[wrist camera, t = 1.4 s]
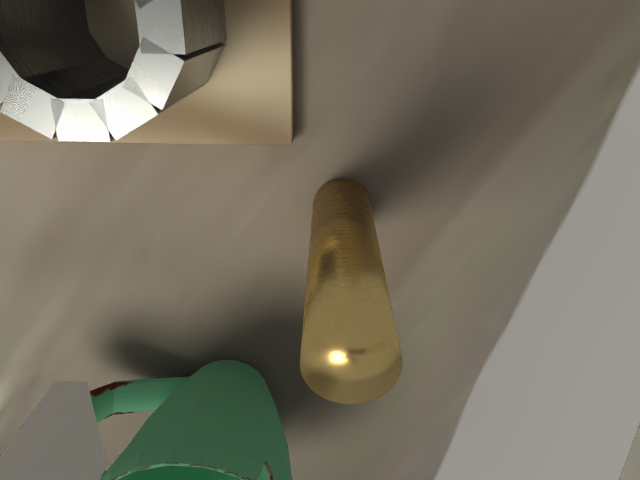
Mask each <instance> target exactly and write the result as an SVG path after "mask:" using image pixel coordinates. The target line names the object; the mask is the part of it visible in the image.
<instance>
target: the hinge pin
mask: <svg viewBox="0 0 640 480" xmlns="http://www.w3.org/2000/svg"><path fill="white" fill-rule="evenodd" d="M401 369H402V356H401V351H400V346H399V341H398V336H397V332H396V327H395V322H394V317H393V312H392V307H391V302H390V297H389V292H388V287H387V283H386V278H385V273H384V268H383V263H382V258H381V253H380V248H379V243H378V238H377V234H376V229H375V224H374V219H373V214H372V209H371V204H370V199H369V196H368V194H367V192H366V191H365V189H364V188H363V187H362V186H361V185H360V184H358V183H357V182H355V181H352V180H349V179H335V180H331V181H329V182H327V183H325V184H324V185H323V186H322V187H321V188H320V189H319V190H318V191H317V193H316V195H315V197H314V201H313V211H312V223H311V235H310V247H309V259H308V271H307V283H306V295H305V307H304V319H303V331H302V343H301V355H300V370H301V374H302V377H303V379H304V381H305V382H306V384H307V385H308V386H309V388H310V389H311V390H312V391H313V392H315V393H316V394H317V395H319V396H321V397H322V398H324V399H327V400H329V401H332V402H335V403H340V404H361V403H365V402H369V401H372V400H375V399H377V398H379V397H380V396H382V395H384V394H385V393H386V392H388V391H389V390H390V389H391V388H392V387H393V386H394V384H395V383H396V382H397V380H398V378H399V376H400V373H401Z"/></svg>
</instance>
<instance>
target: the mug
mask: <svg viewBox="0 0 640 480" xmlns="http://www.w3.org/2000/svg"><path fill="white" fill-rule="evenodd" d="M90 396H91V400H92V404H93V408H94V413H95V417H96V421H97V422H99V421H101V420H103V419H105V418H107V417H109V416H111V415H115V414H124V413H134V412H143V411H152V410H156V411H155V412H154V413H153V414H152V415H151V416H150V417H149V418H148V419H147V420H146V422H145V423H144V425H143V426H142V427H141V429H140V430H139V431H138V433H137V434H136V436H135V437H134V438H133V440H132V441H131V443H130V444H129V445H128V446H127V448H126V449H125V450H124V451H123V452H122V454H121V455H120V456H119V457H118V458H117V460H116V461H115V462H114V463H113V464H112V465H111V467H110V468H109V469H108V470H107V471H104V472H103V474H102V476H101V478H100V480H292V476H291V468H290V460H289V452H288V445H287V442H286V438H285V435H284V431H283V428H282V424H281V421H280V417H279V414H278V411H277V408H276V406H275V403H274V400H273V398H272V396H271V393H270V391H269V388H268V386H267V383H266V381H265V379H264V378H263V377H262V375H261V374H260V373H259V372H258V371H257V370H256V369H255V368H253V367H252V366H250V365H248V364H246V363H243V362H240V361H237V360H225V359H223V360H218V361H213V362H210V363H209V364H207V365H205V366H203V367H201V368H200V369H199V370H198V371H197V372H195V373H194V374H193V375H192V376H181V377H168V378H154V379H141V380H128V381H116V382H113V383H110V384H108V385H105V386H102V387H99V388H97V389H94V390H91V391H90ZM1 455H2V454H1ZM1 455H0V456H1Z"/></svg>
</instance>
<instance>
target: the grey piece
mask: <svg viewBox="0 0 640 480" xmlns="http://www.w3.org/2000/svg"><path fill="white" fill-rule="evenodd" d="M134 2H135V10H136V18H137V26H138V34H139V42H140V46H139V48H138V50H137V53H136V55H135V58H134V60H133V62H132V65H131V67H130V70H128V69H126V68H124V67H122V66H121V65H119V64H117V63H115V62H114V61H112V60H110V59H108V58H107V57H106V55H105V54H104V53H103V51H102V50H101V48H100V47H99V45H98V44H97V42H96V41H95V40H94V38H93V37H92V35H91V34H90V32H89V28H88V22H87V16H86V10H85V4H84V0H0V105H2V109H1V113H3V114H5V115H7V116H9V117H11V118H13V119H14V120H16V121H18V122H20V123H22V124H24V125H26V126H28V127H30V128H32V129H33V130H35V131H37V132H39V133H41V134H43V135H45V136H47V137H49V138H50V139H53V138H55V137H58V141H89V142H111V141H112V140H114V139H116V140H117V139H119V138H121V137H122V136H124V135H126V134H127V133H129V132H131V131H132V130H134V129H135V128H137V127H139V126H140V125H142V124H144V123H145V122H147V121H149V120H150V119H152V118H153V117H155V116H157V115H158V114H160V113H161V112H163V111H165V110H166V109H168V108H169V107H171V106H172V105H174V104H175V103H177V102H179V101H180V100H182V99H183V98H185V97H186V96H188V95H190V94H191V93H193V92H194V91H196V90H197V89H199V88H200V87H202V86H204V85H205V83H206V82H208V81H209V79H210V77H211V75H212V72H213V70H214V68H215V66H216V64H217V62H218V60H219V58H220V56H221V54H222V52H223V50H224V48H225V46H226V45H224V44H223V43H221V42H223V41H226V40H227V39H226V22H225V5H224V0H134Z"/></svg>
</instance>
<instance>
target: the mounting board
mask: <svg viewBox="0 0 640 480" xmlns="http://www.w3.org/2000/svg"><path fill="white" fill-rule="evenodd" d="M84 4H85V10H86V16H87V22H88V28H89V32H90V34H91V35H92V37H93V38H94V40H95V41H96V42H97V44H98V45H99V47H100V48H101V50H102V51H103V53H104V54H105V55H106V57H107V58H108V59H110V60H112V61H114V62H115V63H117V64H119V65H121V66H122V67H124V68H126V69H128V70H130V67H131V65H132V62H133V60H134V58H135V55H136V53H137V50H138V48H139V46H140V42H139V34H138V26H137V18H136V10H135V2H134V0H84ZM224 5H225V22H226V39H227V40H226V41H223V42H221V43H223V44H224V45H226V46H225V48H224V50H223V52H222V54H221V56H220V58H219V60H218V62H217V64H216V66H215V68H214V70H213V72H212V75H211V77H210V79H209V81H208V82H206V83H205V85H204V86H202V87H200V88H199V89H197V90H196V91H194V92H193V93H191V94H190V95H188V96H186V97H185V98H183V99H182V100H180V101H179V102H177V103H175V104H174V105H172V106H171V107H169V108H168V109H166V110H165V111H163V112H161V113H160V114H158V115H157V116H155V117H153V118H152V119H150V120H149V121H147V122H145V123H144V124H142V125H140V126H139V127H137V128H135V129H134V130H132V131H131V132H129V133H127V134H126V135H124V136H122V137H121V138H119V139H117V140H116V139H114V140H112V141H111V142H123V143H184V144H244V145H292V142H293V55H292V0H224ZM1 109H2V105H0V140H3V141H58V137H55V138H53V139H50V138H49V137H47V136H45V135H43V134H41V133H39V132H37V131H35V130H33V129H32V128H30V127H28V126H26V125H24V124H22V123H20V122H18V121H16V120H14V119H13V118H11V117H9V116H7V115H5V114H3V113H1ZM63 142H89V141H63Z"/></svg>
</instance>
